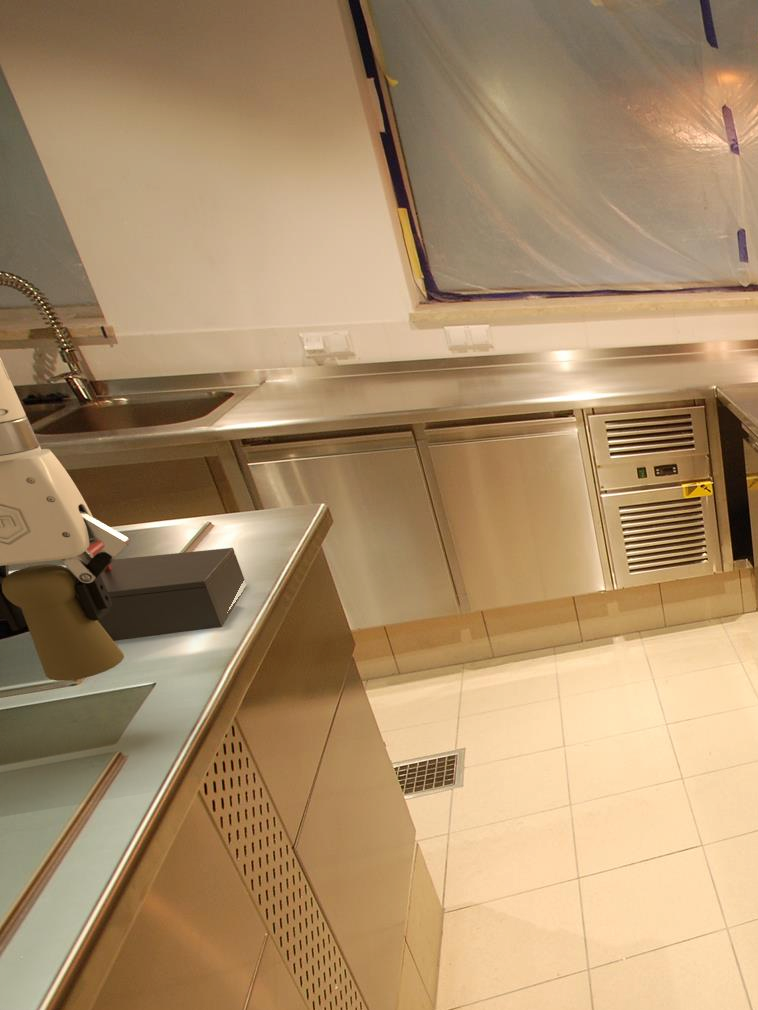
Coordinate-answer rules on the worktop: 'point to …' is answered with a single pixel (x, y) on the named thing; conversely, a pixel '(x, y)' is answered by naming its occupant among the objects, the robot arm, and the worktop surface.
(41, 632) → the cork
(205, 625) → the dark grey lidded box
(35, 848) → the worktop surface
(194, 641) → the worktop surface
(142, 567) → the box lid
